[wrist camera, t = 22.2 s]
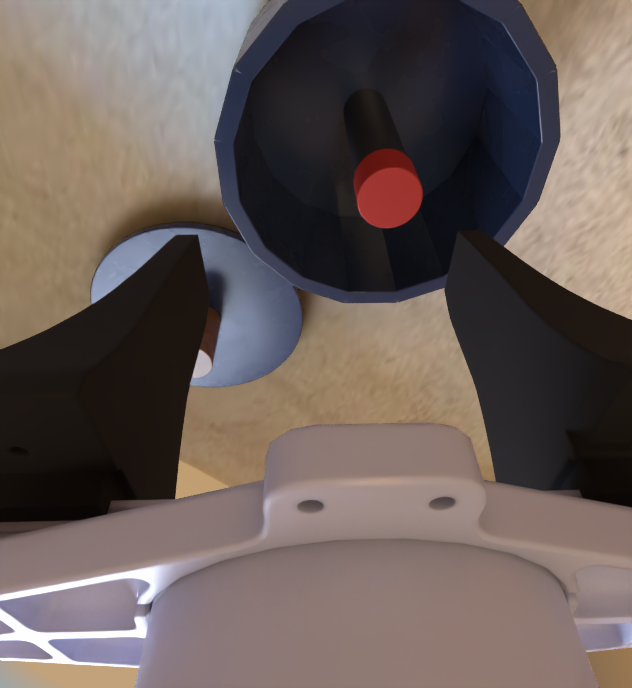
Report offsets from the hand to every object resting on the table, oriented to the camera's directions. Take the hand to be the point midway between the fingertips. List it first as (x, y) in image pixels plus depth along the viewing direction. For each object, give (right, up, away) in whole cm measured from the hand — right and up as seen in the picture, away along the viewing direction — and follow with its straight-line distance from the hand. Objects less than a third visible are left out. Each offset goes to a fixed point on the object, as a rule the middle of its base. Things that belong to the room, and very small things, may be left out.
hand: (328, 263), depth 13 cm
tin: (+2, +8, +7) cm, 10 cm away
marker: (+2, +7, +6) cm, 10 cm away
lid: (-7, -1, +14) cm, 15 cm away
